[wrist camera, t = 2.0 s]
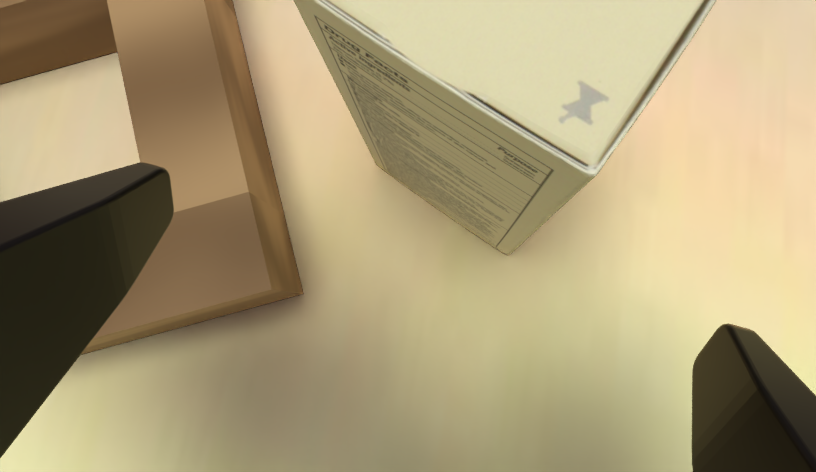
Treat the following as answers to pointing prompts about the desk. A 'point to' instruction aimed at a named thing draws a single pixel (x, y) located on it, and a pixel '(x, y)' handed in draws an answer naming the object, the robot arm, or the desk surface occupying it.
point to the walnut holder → (176, 150)
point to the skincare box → (498, 94)
